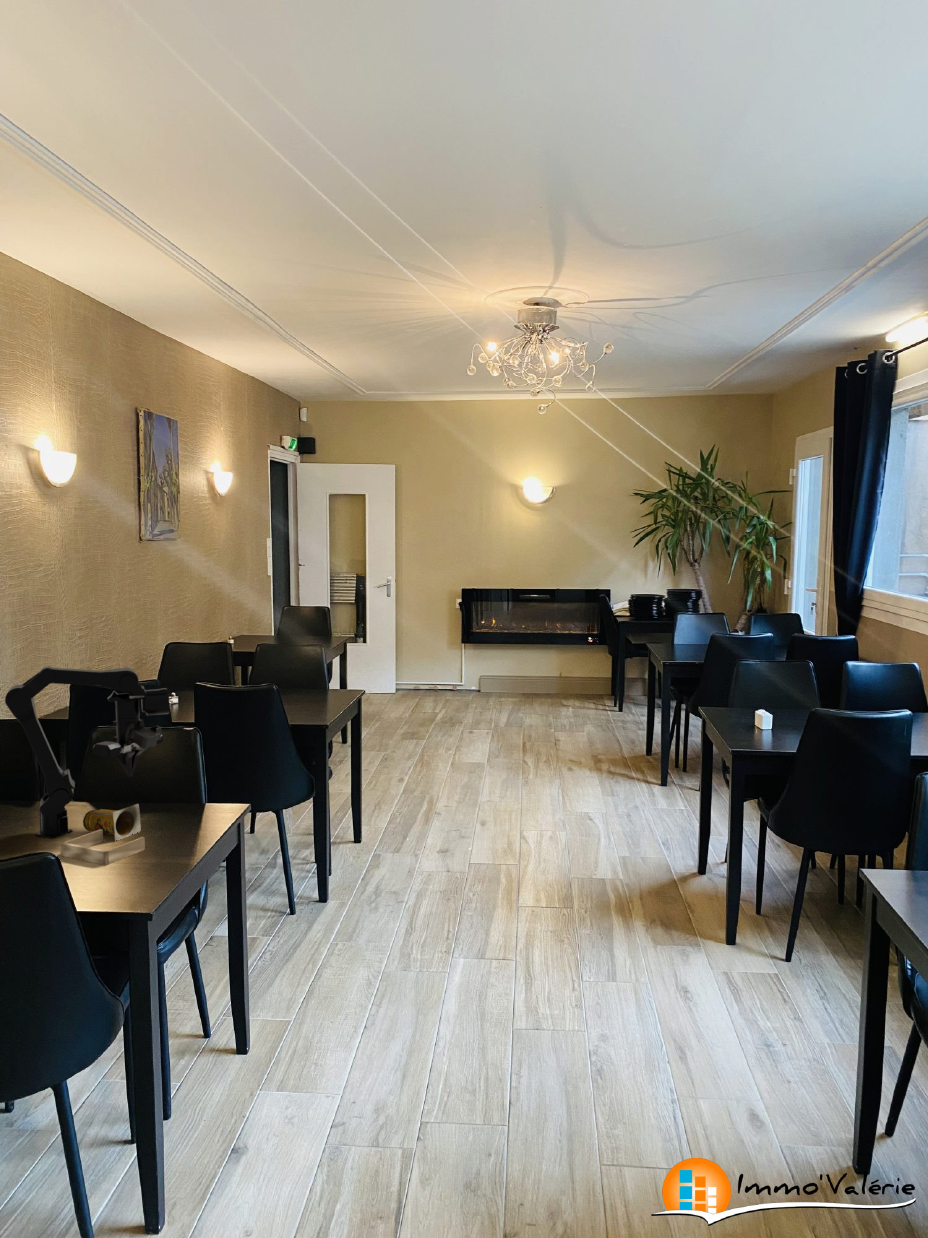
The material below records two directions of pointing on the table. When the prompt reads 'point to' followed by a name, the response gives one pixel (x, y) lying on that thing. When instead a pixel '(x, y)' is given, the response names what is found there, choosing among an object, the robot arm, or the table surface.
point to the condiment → (114, 821)
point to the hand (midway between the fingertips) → (130, 776)
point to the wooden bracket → (81, 850)
